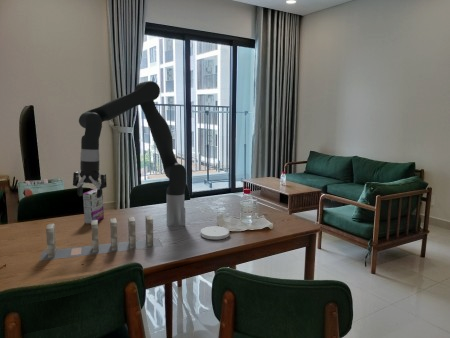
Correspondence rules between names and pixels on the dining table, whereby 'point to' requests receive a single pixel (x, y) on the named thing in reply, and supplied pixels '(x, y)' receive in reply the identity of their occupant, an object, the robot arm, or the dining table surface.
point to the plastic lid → (214, 232)
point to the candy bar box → (92, 206)
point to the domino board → (102, 249)
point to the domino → (51, 240)
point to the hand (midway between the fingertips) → (89, 196)
